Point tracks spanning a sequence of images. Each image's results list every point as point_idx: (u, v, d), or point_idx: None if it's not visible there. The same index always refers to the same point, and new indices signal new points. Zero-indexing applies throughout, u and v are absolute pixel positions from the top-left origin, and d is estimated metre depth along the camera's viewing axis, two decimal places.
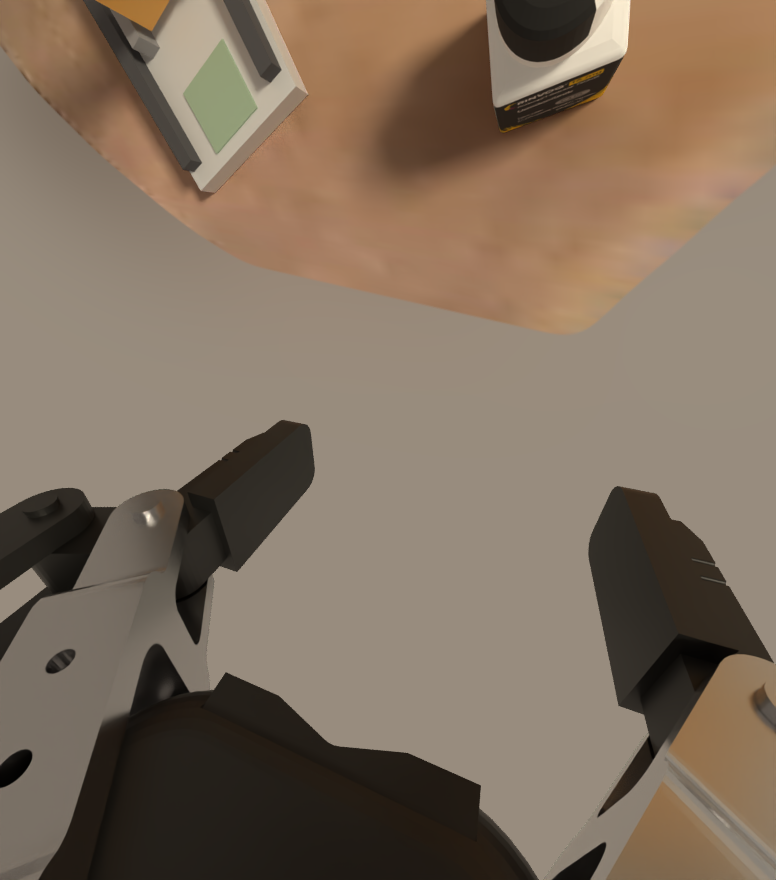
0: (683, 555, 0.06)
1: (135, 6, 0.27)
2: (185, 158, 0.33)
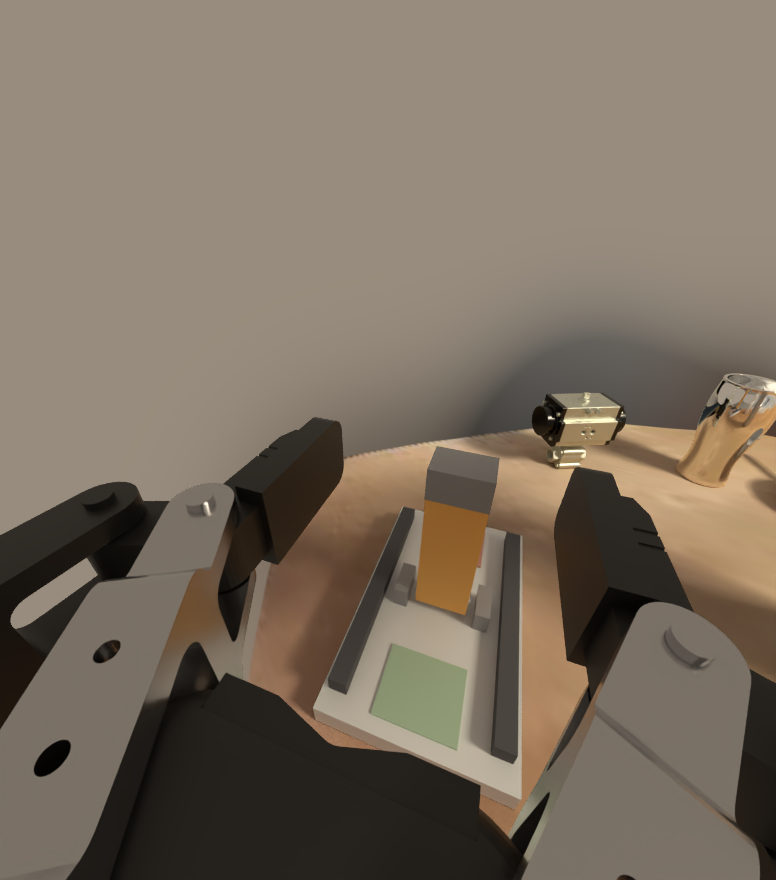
0: (625, 524, 0.06)
1: (429, 589, 0.29)
2: (341, 676, 0.25)
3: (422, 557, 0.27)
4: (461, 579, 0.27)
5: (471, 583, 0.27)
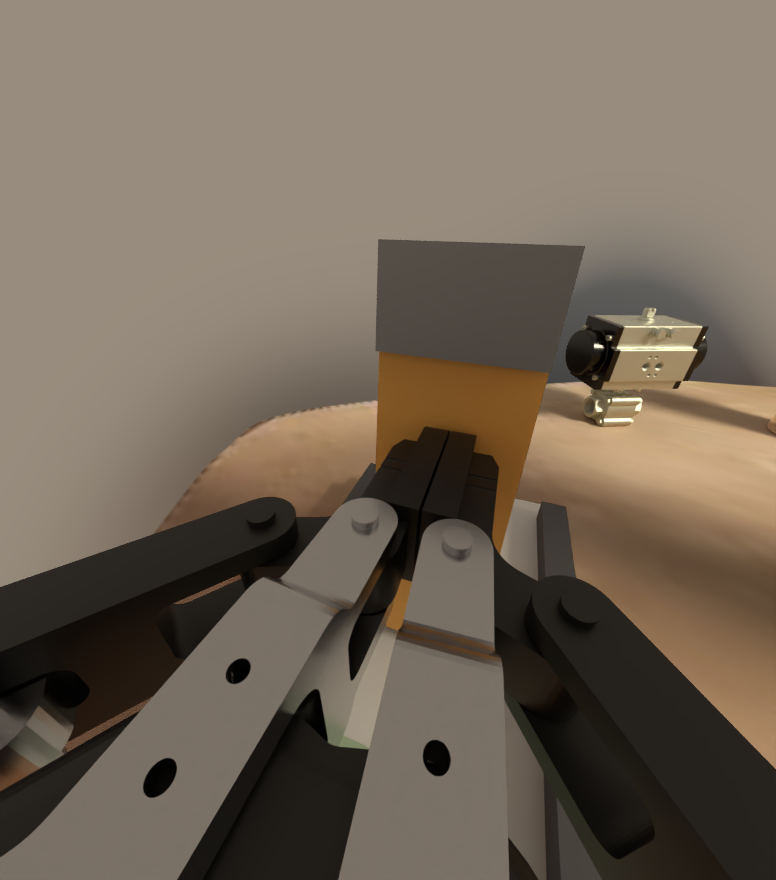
0: (463, 470, 0.08)
1: (397, 598, 0.14)
2: None
3: None
4: None
5: None
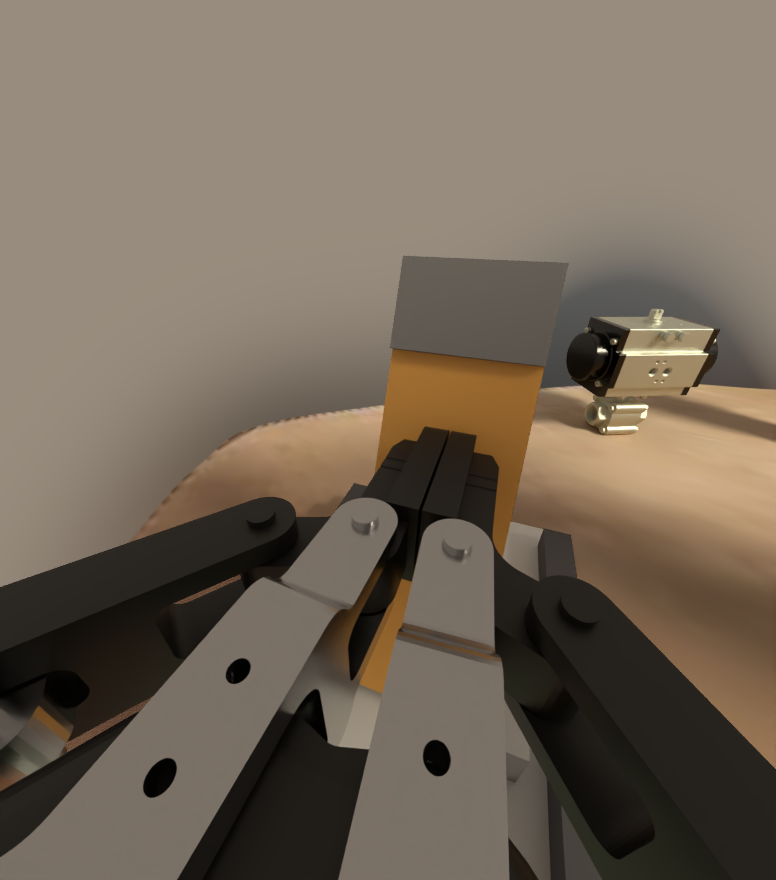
0: (463, 470, 0.08)
1: (381, 640, 0.12)
2: None
3: None
4: None
5: None
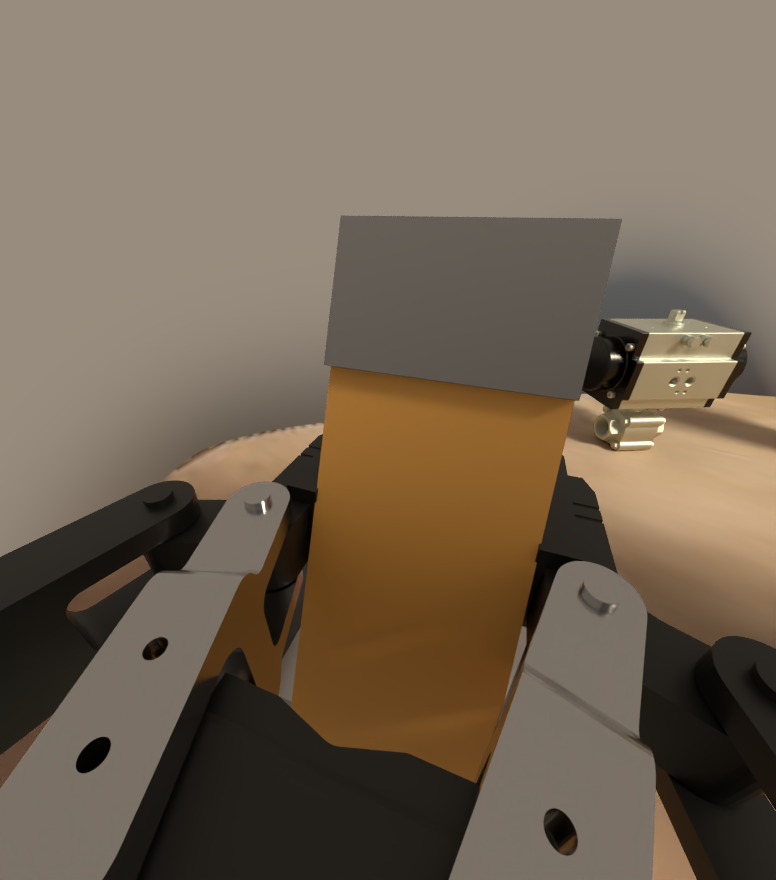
0: (565, 498, 0.07)
1: None
2: None
3: (307, 648, 0.08)
4: (441, 758, 0.07)
5: None
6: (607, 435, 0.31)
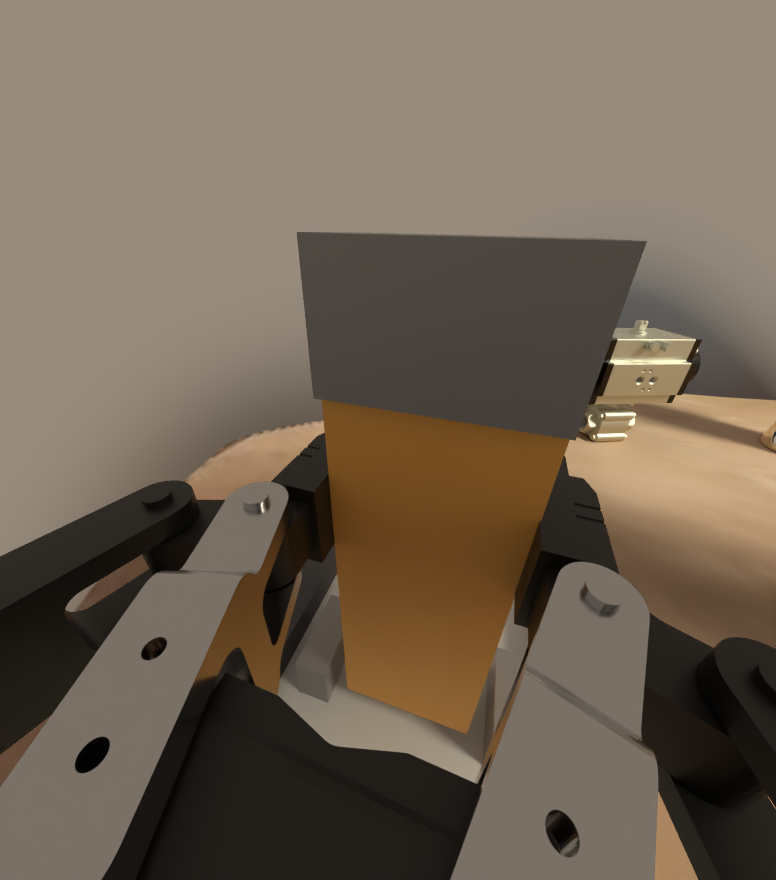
0: (567, 499, 0.07)
1: (375, 671, 0.11)
2: None
3: (346, 597, 0.10)
4: (456, 659, 0.10)
5: (485, 670, 0.09)
6: (586, 428, 0.36)
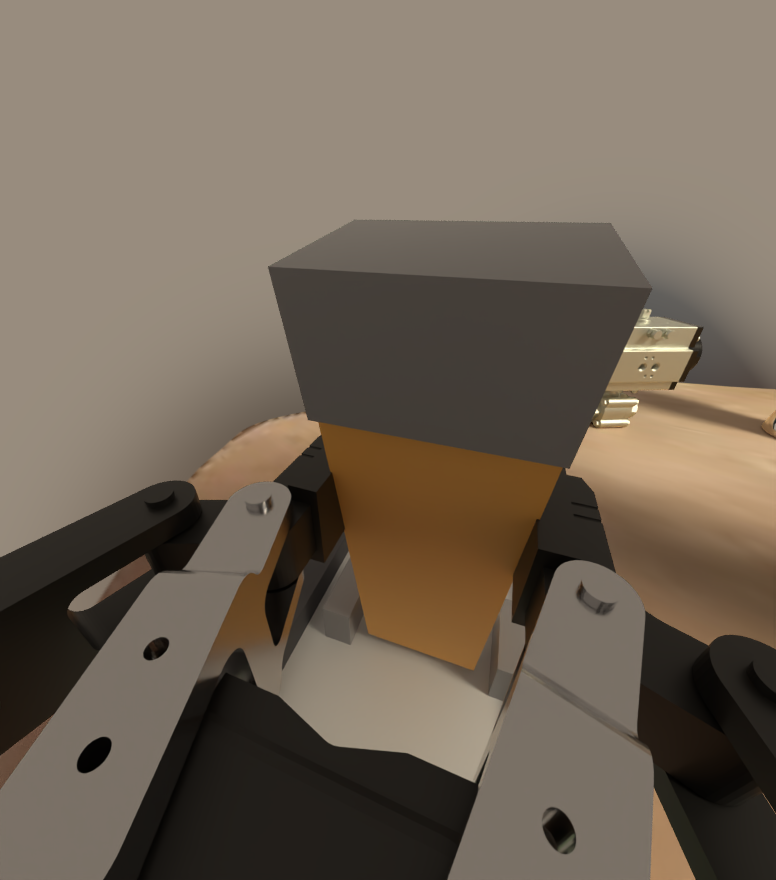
0: (564, 497, 0.07)
1: (391, 624, 0.13)
2: None
3: (360, 571, 0.11)
4: (462, 620, 0.11)
5: (487, 630, 0.10)
6: None
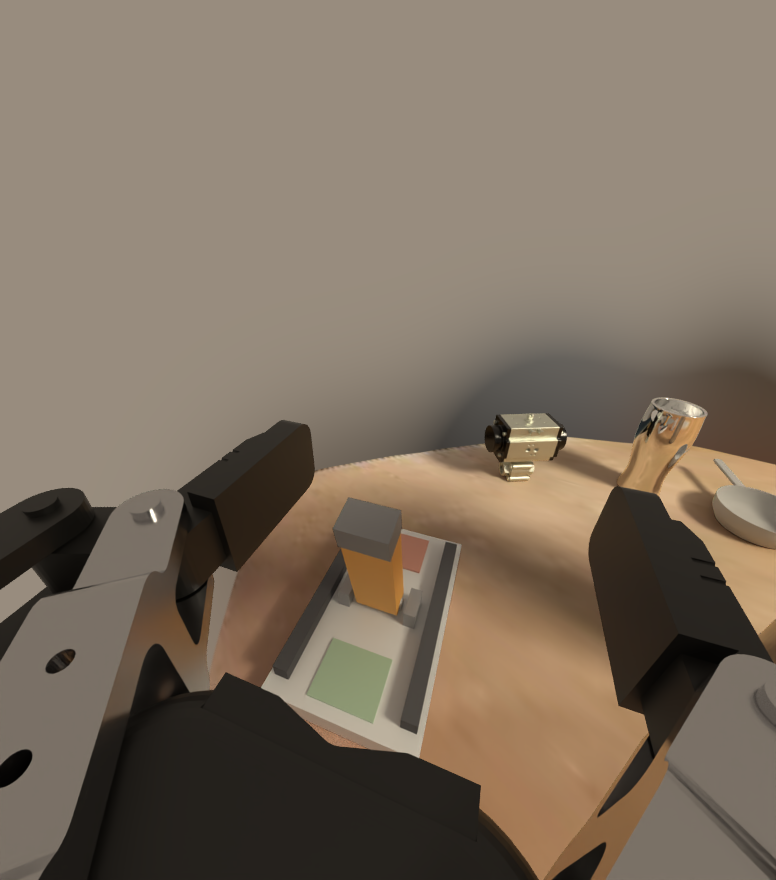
0: (683, 555, 0.06)
1: (364, 597, 0.34)
2: (284, 664, 0.30)
3: (351, 578, 0.32)
4: (386, 595, 0.32)
5: (394, 598, 0.31)
6: (503, 473, 0.57)
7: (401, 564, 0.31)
